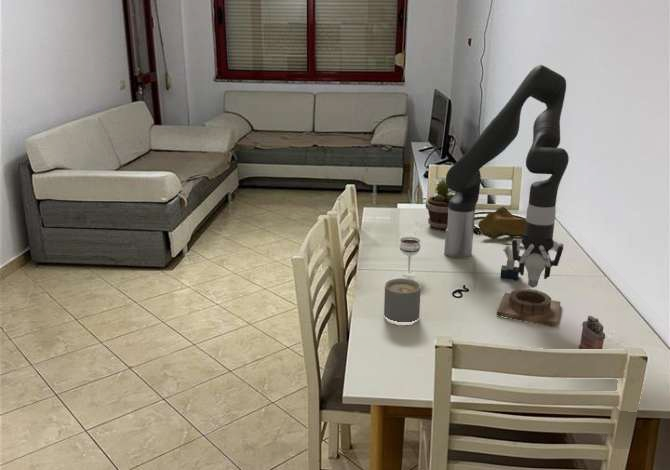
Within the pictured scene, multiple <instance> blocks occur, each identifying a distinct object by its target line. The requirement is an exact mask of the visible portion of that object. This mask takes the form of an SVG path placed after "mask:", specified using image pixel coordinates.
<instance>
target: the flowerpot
mask: <svg viewBox="0 0 670 470" xmlns="http://www.w3.org/2000/svg"><path fill="white" fill-rule="evenodd" d="M435 191H436V193H435V195H434V196H429V198H428V199H427V200H426V202H425V208H426V210H427V211H428V212H427V213H428V218H427V219H428V220H427V221H428V224H429V226H430V228H431V229H435V230H437V231H446V229H447V225H448V210H449V201H450V199H451V198H452V197H453V196H454V195H455V193H453V192H452V190H450V189H449V188H448V186H447V184H446V179H444V178H443V176H442V179H440V180H438V183H435Z"/></svg>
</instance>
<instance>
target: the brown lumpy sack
mask: <svg viewBox="0 0 670 470" xmlns="http://www.w3.org/2000/svg"><path fill="white" fill-rule="evenodd" d="M580 335H581V336H580V341H579V346H578V350H579V349H602V350H603V348H604V347H603V345H604V340H605V339H606V333H604V325H603V324H602V323H600V321H599V318H595V317H594V316H593V315H587V320H585V321H582V330H581V334H580Z"/></svg>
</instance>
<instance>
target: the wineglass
mask: <svg viewBox="0 0 670 470" xmlns="http://www.w3.org/2000/svg"><path fill="white" fill-rule="evenodd" d="M399 241H400V244H399V250H400V252H401V253H402V254H403V255H405V256H407V258H408V259H407V263H408V264H407V265H408V267H407V269H408V270H407V271H408V273H411V272H412V271H410V267H411V258H412V257H413V256H415V255H417V254H418V253H419V251H420V249H421V244H420V243H421V239H419V238H417V237H413V236H404V237H402V238H400V239H399ZM409 271H410V272H409Z"/></svg>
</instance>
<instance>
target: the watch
mask: <svg viewBox="0 0 670 470" xmlns="http://www.w3.org/2000/svg"><path fill="white" fill-rule="evenodd" d="M502 251H503V252H504V253H505V256H506V258H507V260H506V265H503V264H502V265H501V268H500V276H499V277H500V278H499V279H500V280H507V281H514V282H515V281H516V282H517V281H518V280H519V274H520V273H519V266H515V263H516V260H514V259H513V252H512V244H507V245H505V247H504V248H503V249H502ZM520 253H521V248H520V246H519V247H518V255H519V256H520Z"/></svg>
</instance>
